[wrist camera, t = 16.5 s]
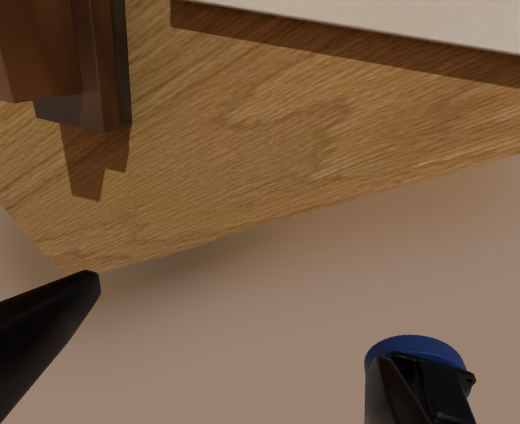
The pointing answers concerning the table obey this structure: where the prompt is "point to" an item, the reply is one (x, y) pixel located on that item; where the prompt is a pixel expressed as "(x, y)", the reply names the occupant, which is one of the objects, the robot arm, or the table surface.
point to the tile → (405, 19)
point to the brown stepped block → (67, 60)
